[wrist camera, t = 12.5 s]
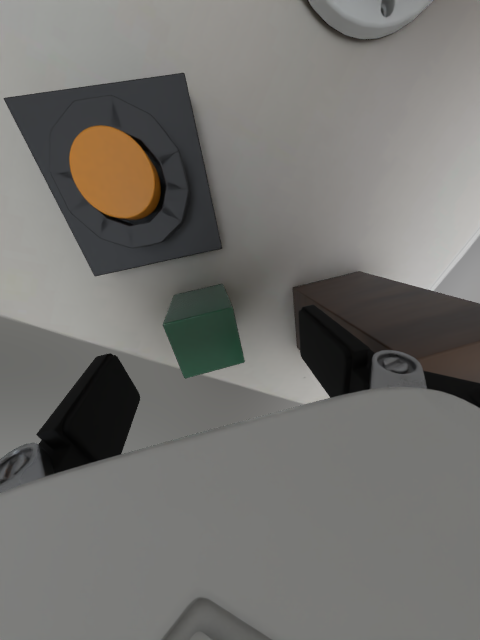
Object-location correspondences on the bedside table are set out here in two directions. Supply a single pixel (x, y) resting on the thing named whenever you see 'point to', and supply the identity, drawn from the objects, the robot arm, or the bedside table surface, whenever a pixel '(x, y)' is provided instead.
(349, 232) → the bedside table surface
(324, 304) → the brown rectangular block
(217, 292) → the green block
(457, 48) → the bedside table surface
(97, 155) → the button
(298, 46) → the bedside table surface
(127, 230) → the push button base
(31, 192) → the bedside table surface
